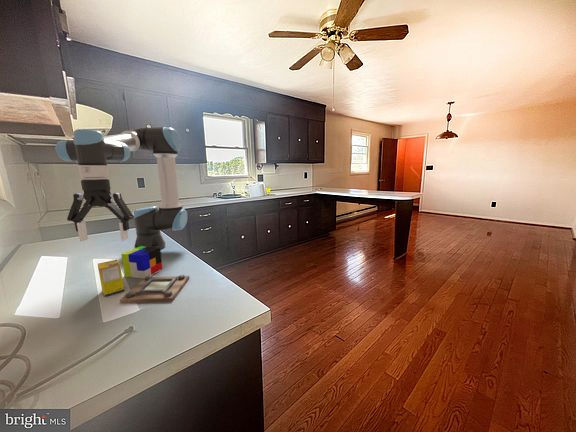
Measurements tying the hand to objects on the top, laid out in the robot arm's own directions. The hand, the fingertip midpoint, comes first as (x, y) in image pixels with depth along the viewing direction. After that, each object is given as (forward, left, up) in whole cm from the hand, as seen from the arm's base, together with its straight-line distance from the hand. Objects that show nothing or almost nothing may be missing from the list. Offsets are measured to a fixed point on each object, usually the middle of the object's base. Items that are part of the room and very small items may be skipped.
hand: (104, 240), depth 83 cm
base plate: (0, +16, -20) cm, 25 cm away
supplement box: (0, 0, -20) cm, 20 cm away
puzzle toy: (-16, +3, -20) cm, 26 cm away
